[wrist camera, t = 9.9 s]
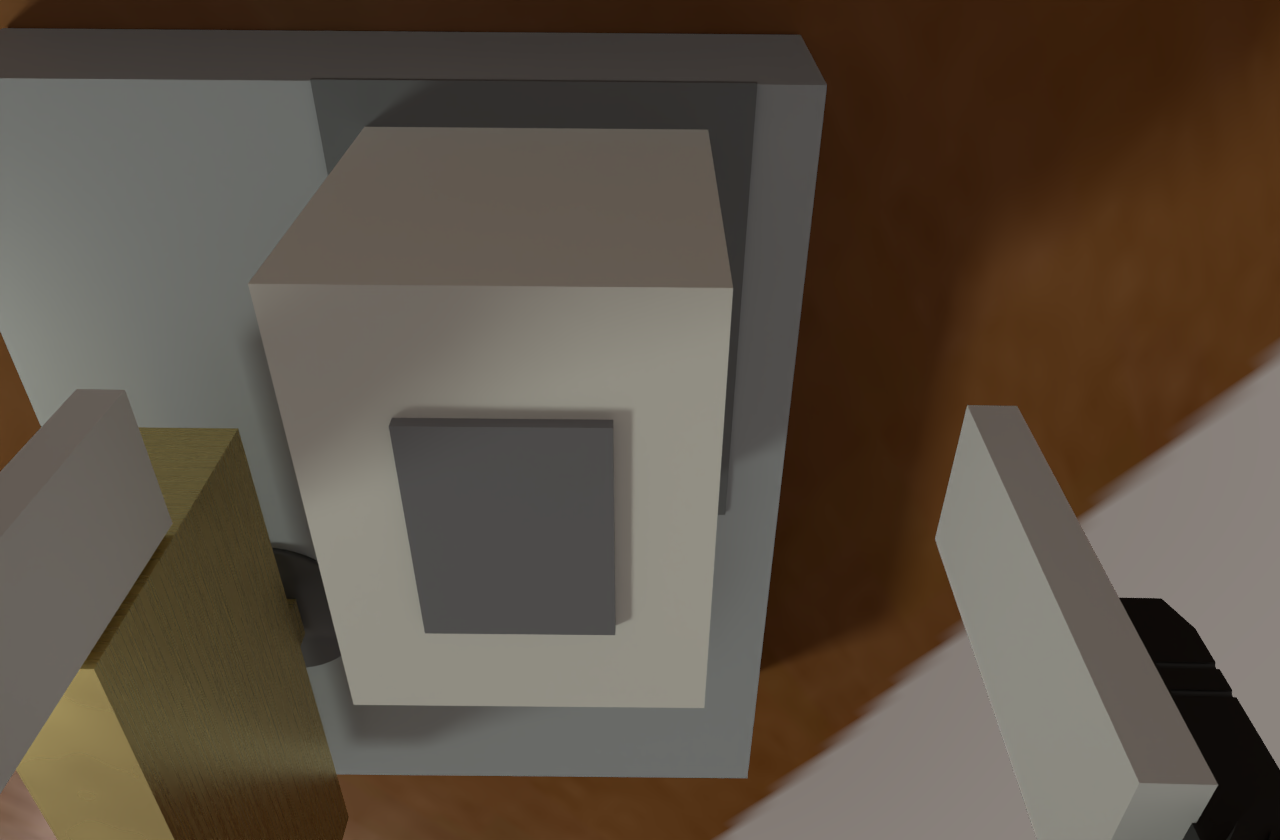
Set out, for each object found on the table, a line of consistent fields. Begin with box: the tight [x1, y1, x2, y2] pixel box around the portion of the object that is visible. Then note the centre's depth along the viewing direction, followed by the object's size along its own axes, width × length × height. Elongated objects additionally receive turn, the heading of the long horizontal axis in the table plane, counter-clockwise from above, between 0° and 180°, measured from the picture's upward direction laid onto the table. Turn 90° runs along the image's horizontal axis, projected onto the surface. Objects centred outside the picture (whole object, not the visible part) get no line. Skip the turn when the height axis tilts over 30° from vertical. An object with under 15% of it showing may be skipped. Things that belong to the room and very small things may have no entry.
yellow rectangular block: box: [16, 427, 349, 840], centre depth 21 cm, size 13×2×7 cm, turn 0°
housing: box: [0, 28, 827, 778], centre depth 23 cm, size 16×20×4 cm
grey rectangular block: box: [248, 127, 733, 708], centre depth 17 cm, size 6×8×6 cm
